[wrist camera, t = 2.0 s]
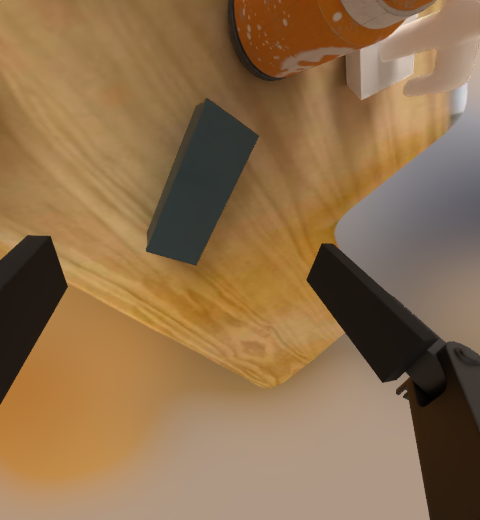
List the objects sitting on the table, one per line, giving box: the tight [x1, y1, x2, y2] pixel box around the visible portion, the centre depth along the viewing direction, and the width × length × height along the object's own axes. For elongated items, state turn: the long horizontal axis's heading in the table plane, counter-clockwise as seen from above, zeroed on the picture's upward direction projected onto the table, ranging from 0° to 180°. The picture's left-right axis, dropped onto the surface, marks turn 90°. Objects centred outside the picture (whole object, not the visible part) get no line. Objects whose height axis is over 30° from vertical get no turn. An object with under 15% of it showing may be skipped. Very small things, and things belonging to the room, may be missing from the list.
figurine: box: [345, 0, 480, 101], centre depth 20 cm, size 7×9×15 cm
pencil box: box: [146, 98, 259, 265], centre depth 24 cm, size 15×6×5 cm, turn 151°
